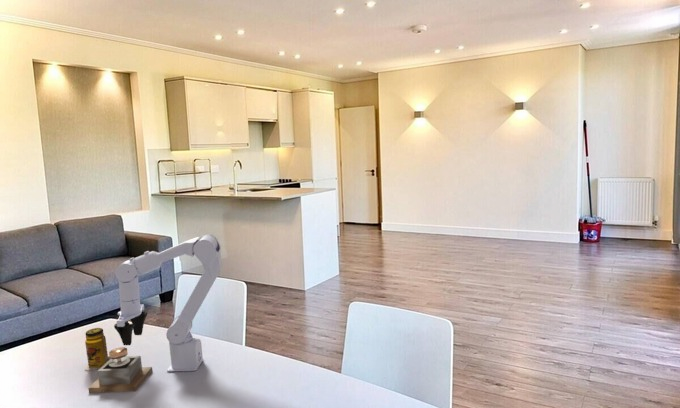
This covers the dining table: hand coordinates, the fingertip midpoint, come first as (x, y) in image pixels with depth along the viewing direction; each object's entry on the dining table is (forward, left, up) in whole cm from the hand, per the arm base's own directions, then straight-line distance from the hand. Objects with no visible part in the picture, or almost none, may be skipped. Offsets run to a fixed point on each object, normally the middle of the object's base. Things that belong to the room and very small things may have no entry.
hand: (132, 339), depth 152 cm
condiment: (+15, -6, -11) cm, 20 cm away
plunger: (+1, +7, -4) cm, 8 cm away
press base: (+1, +7, -10) cm, 13 cm away
